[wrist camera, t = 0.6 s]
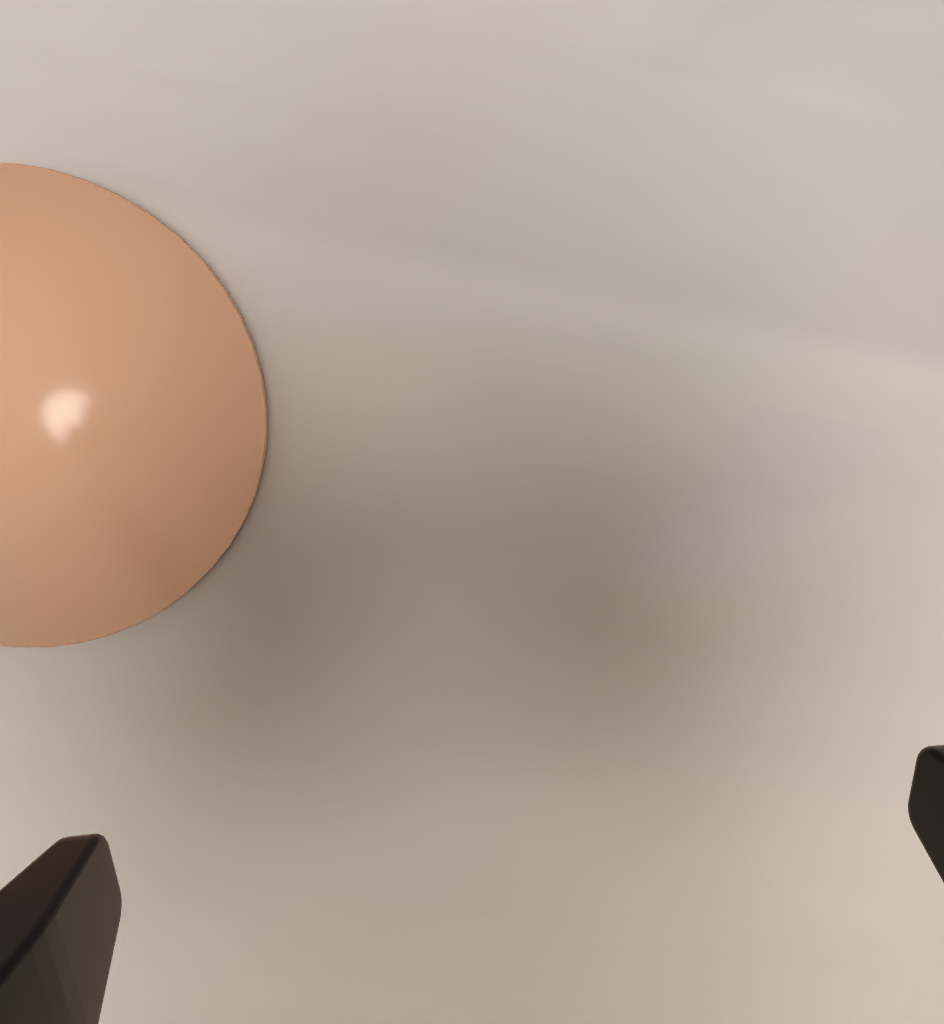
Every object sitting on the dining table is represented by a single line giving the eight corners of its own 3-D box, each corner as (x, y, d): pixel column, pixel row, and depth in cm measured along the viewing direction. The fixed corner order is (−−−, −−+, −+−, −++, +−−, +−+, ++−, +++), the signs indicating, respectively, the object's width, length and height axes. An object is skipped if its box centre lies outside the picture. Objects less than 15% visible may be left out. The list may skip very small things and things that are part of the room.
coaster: (224, 672, 23) (218, 684, 22) (-244, 592, 21) (-268, 600, 20) (306, 237, 21) (303, 231, 20) (-195, 114, 19) (-219, 103, 19)
